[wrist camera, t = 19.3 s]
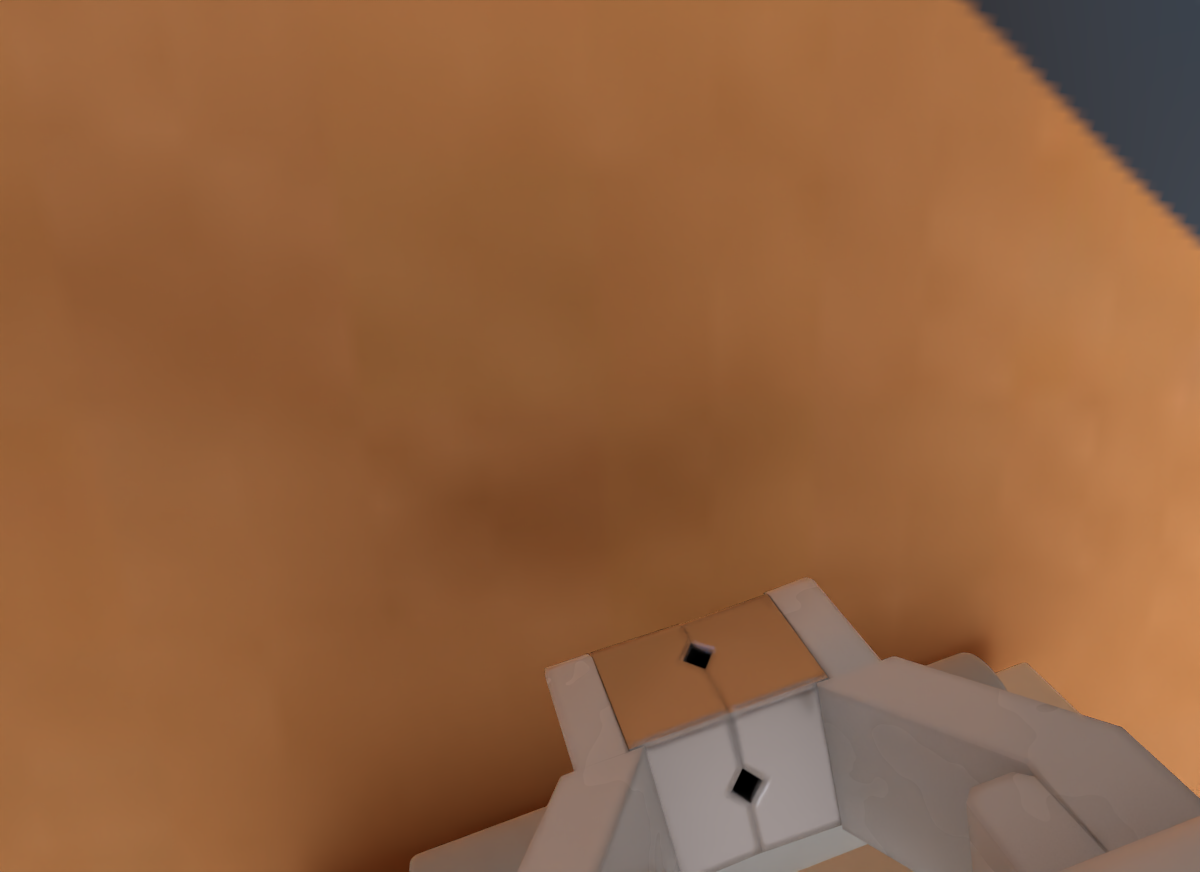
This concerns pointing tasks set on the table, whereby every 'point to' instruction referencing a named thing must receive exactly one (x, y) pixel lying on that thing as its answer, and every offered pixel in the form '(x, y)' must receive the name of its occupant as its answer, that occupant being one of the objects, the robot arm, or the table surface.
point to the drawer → (802, 868)
